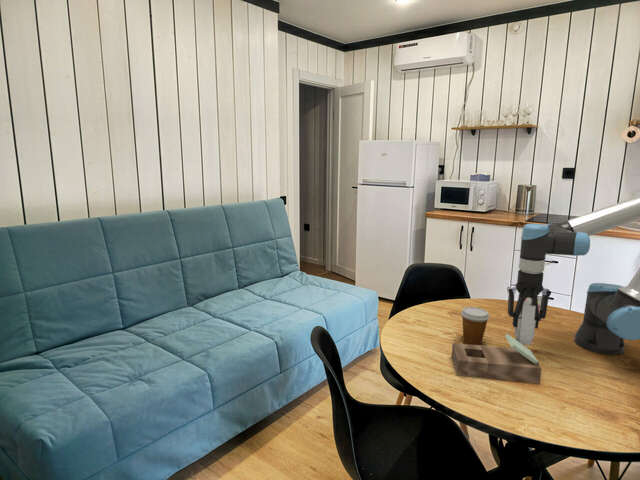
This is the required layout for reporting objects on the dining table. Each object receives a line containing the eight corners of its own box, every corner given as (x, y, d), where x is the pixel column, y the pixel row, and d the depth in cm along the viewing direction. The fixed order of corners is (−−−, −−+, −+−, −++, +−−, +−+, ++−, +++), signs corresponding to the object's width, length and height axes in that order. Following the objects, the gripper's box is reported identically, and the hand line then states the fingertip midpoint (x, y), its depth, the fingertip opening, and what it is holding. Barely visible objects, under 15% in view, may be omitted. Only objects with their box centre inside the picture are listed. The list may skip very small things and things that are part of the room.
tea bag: (522, 315, 177) (525, 293, 175) (540, 318, 174) (543, 295, 172) (523, 318, 174) (526, 295, 172) (541, 321, 171) (544, 298, 169)
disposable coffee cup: (488, 349, 145) (492, 317, 143) (460, 346, 147) (463, 314, 145) (483, 337, 155) (487, 307, 152) (457, 335, 156) (460, 305, 154)
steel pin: (527, 339, 144) (531, 301, 141) (531, 345, 140) (535, 306, 137) (515, 339, 145) (519, 301, 142) (518, 344, 141) (522, 305, 138)
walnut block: (527, 364, 136) (529, 350, 135) (539, 383, 124) (541, 368, 123) (451, 356, 140) (452, 342, 139) (456, 375, 128) (458, 360, 127)
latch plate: (529, 353, 133) (531, 351, 133) (537, 365, 125) (539, 363, 125) (504, 335, 133) (506, 333, 133) (511, 347, 126) (513, 344, 125)
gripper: (554, 268, 139) (546, 333, 144) (500, 266, 142) (495, 329, 147) (563, 275, 132) (554, 342, 137) (506, 272, 135) (500, 339, 140)
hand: (524, 336), depth 142 cm, fingers closed on steel pin, 4 cm apart
